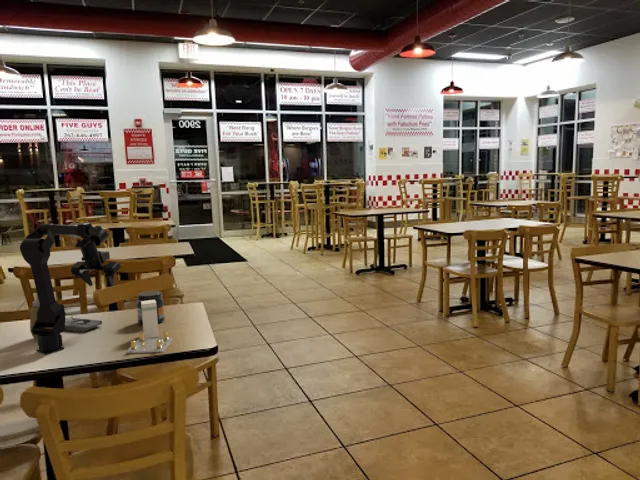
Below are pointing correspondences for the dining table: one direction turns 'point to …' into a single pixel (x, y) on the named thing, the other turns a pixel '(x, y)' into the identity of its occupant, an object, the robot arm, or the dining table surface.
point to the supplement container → (151, 296)
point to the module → (149, 319)
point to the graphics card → (80, 324)
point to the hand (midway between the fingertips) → (101, 285)
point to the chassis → (149, 344)
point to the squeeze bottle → (34, 316)
